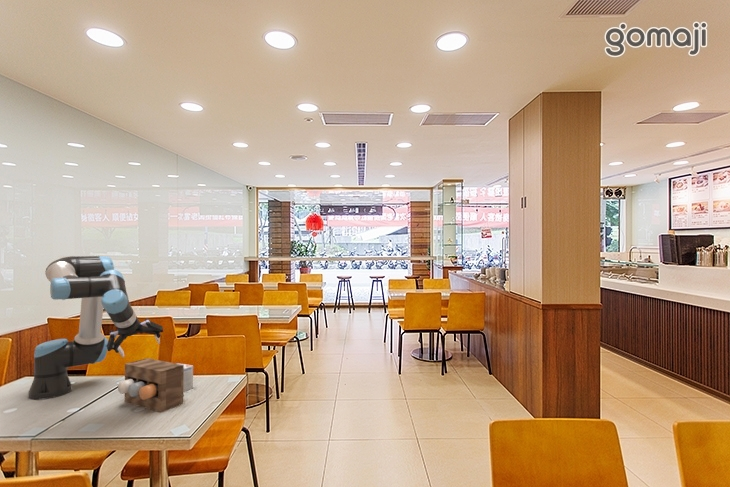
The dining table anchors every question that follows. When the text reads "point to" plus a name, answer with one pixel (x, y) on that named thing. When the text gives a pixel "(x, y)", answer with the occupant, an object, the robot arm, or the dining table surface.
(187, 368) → the light bulb box
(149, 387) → the orange button
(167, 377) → the panel
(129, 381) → the white button
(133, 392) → the grey button
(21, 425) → the dining table surface
